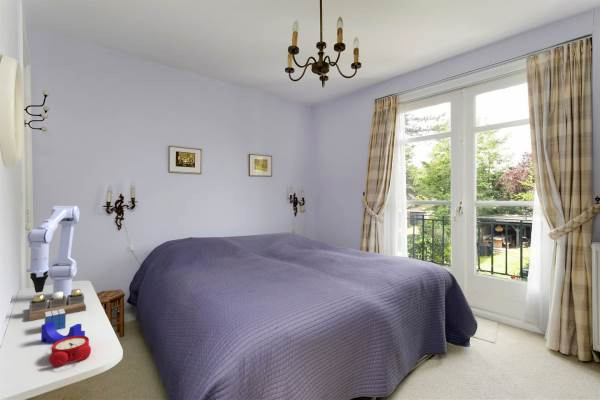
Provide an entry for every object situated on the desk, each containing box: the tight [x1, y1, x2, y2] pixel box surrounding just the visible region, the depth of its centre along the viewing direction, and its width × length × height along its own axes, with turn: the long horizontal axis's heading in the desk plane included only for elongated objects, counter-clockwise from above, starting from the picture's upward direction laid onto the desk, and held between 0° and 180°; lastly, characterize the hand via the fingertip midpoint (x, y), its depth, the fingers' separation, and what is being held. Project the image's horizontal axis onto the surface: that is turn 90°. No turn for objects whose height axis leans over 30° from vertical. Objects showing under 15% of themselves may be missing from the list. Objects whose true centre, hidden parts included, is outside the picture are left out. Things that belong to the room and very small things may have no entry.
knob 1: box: [32, 293, 45, 304], centre depth 125 cm, size 3×3×3 cm
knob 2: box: [71, 288, 82, 297], centre depth 133 cm, size 3×3×3 cm
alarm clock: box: [48, 335, 92, 368], centre depth 92 cm, size 10×6×15 cm
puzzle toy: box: [44, 309, 67, 331], centre depth 112 cm, size 6×6×6 cm
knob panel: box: [28, 292, 87, 322], centre depth 129 cm, size 16×18×5 cm
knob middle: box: [52, 292, 63, 300], centre depth 129 cm, size 3×3×3 cm
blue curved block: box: [40, 322, 86, 345], centre depth 102 cm, size 12×4×6 cm, turn 83°
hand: (38, 290), depth 125 cm, fingers open, 4 cm apart
